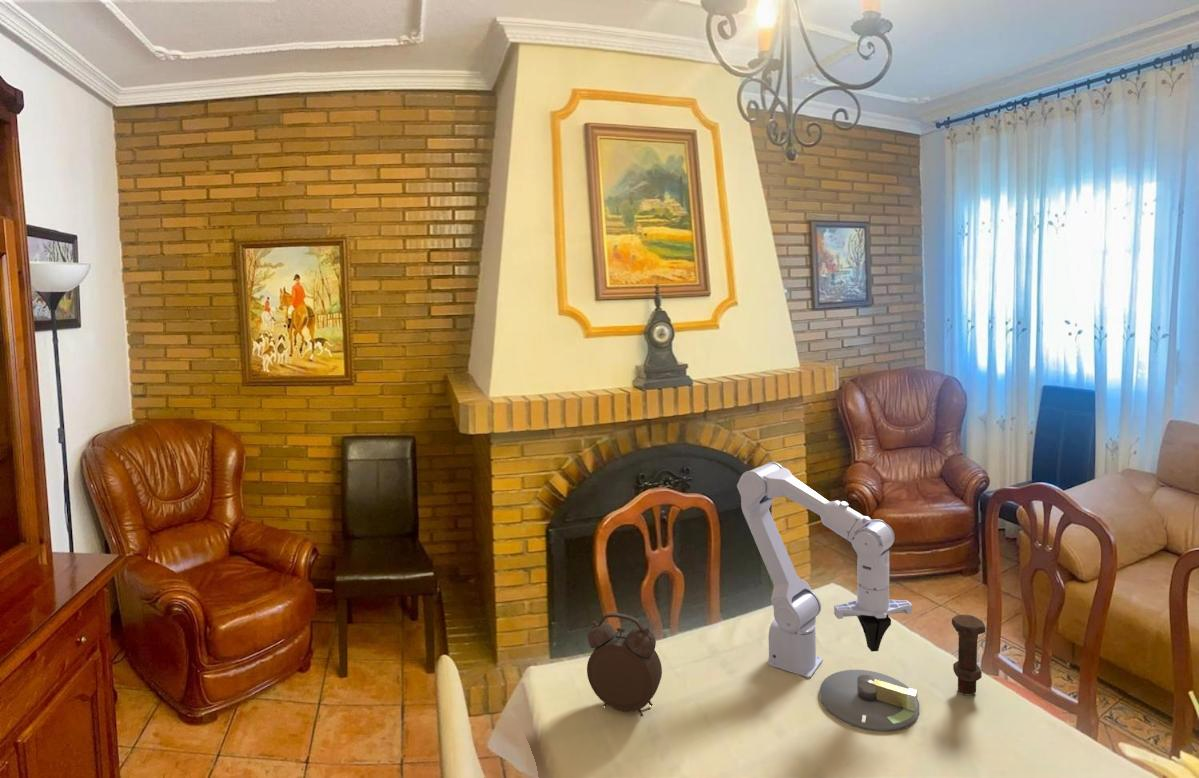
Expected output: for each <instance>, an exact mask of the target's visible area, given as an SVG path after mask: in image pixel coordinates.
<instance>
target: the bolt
mask: <svg viewBox="0 0 1199 778" xmlns="http://www.w3.org/2000/svg"><path fill="white" fill-rule="evenodd" d="M951 625H952V626H953V628H954V630H955V632H957V635H958V643H957V644H958V650H957V652H958V654H957V661H955V662H954V663H953V664H952V667H953V668H952V669H953V672H954V675H955V676H956V677H957V690H958V691H959V693H961V694H962V693H963V694H962V695H965V694H972V695H974V694H976V693H977V681H979V680H980V679H981V678H982V677H983V676H982V675H983V674H982V670H981V667H980V666H979V665H978V639H979V635H981V634H985V633H986V625H985V623H984V622H983V620H982V619H980V618H978V617H977V616H973V615H970V614H956V615H954V616H953V617H952V618H951Z"/></svg>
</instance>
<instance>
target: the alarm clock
mask: <svg viewBox="0 0 1199 778" xmlns="http://www.w3.org/2000/svg"><path fill="white" fill-rule="evenodd" d="M608 618H618V619H623V620H626V621H627V620H628V621H630V622H632V623H634V624H635V625H636V627H634V628H633V629H632V630H630V631H626V629H625V628H622V627H617V628H616V629H615V627H613V625H611V624H610V623H609V622H606V621H605V620H606V619H608ZM591 625H592V626H591V628H590V629H589V631H588V633H587V641H588V642H587V643H588V645H589V647H590V649H594V650H593V652H592V653H591V654H590V655H589V658H588V661H587V666H586V674H587V679H588V682H589V684H590V686H591V689H592V691H593V692H594V693H595V695H596V696H597V697H598V698H599V700H600V701H601V702H602V703H604V704H602V707H603V706H606V707H607V706H608V707H610V708H612V709H614V710H616V711H619V712H624V713H634V712H638V713H639V715H640V717H641V716H642V717H644V714H643V712H642V709H644V708H645V706H647V704H649V705H651V706H652V705H654V704H653V703H652V701H651V700H652V699H653V697H654V696H655V694H656V692H657V690H658V688H659V685H660V683H661V679H662V674H663V668H662V663H661V659H660V657H659V655H658V653H657V651H656V650H655V649H656V643H657V640H656V637H655V635H654V634H653V632H652V631H651V630H650V628H649V627H644V626H643V624H642V623H641V622H640V620H639V619H638V618H636V617H634V616H632V615H630V614H629V615H628V614H625V613H619V612H609V613H606V614H603V616H602V618H601V619H600V621H599V622H597V621H595V620H593V621H591ZM652 707H653V706H652Z"/></svg>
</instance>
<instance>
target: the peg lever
mask: <svg viewBox="0 0 1199 778" xmlns="http://www.w3.org/2000/svg"><path fill="white" fill-rule="evenodd" d="M857 694H858V696H859V697H860V698H862V699H864V700H866V701H876V700H880V701H883V702H887V703H890V704H893V705H896V706H899V707H902V708H905V709H908V710H911V711H914V712H915V710H916V708H917V699H918V690H917V689H914V688H910V687H909V689H906V688H903V687H900V686H896V685H893V684H890V683H886V682H883V681H880V680H878V679H877V678H876V677H874V676H871V675H861V676H859V677H858V678H857Z"/></svg>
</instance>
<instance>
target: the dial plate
mask: <svg viewBox="0 0 1199 778" xmlns="http://www.w3.org/2000/svg"><path fill="white" fill-rule="evenodd" d="M861 675H871V676H874V677H876V678H877V679H878V680H880V681H883V682H886V683H890V684H893V685H896V686H900V687H903V688H906V689H909V688H910V687H909V686H908V685H906V684H905V683H904V682H902V681H900V680H898V679H896V678H894V677H892V676H889V675H888V674H884V673H880V672H877V671H872V670H865V669H846V670H840V671H838V672H834V673H831V674H830V675H828V676H827V677H826V678H824V680H823V681H822V682H821V683H820V687H819V697H820V700H821V704H822V705H823V707H824V708H825V709H826V711H828V713H829V714H831V715H832V716H833V717H835V718H836V719H838V720H839V721H841V722H843V723H845V724H847V725H850V726H852V727H856V728H858V729H862V730H866V731H873V732H884V733H885V732H895V731H900V730H904V729H906V728H908V727H910V726H912V725H913V724H914V723H915V722H916V721H917V720H918V718H919V715H920V702H919V699H918V698H917V708H916V710H915V712H914V711H911V710H908V709H905V708H902V707H899V706H896V705H893V704H890V703H887V702H883V701H880V700H876V701H866V700H864V699H862V698H860V697H859V696H858V694H857V678H858V677H859V676H861Z"/></svg>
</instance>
